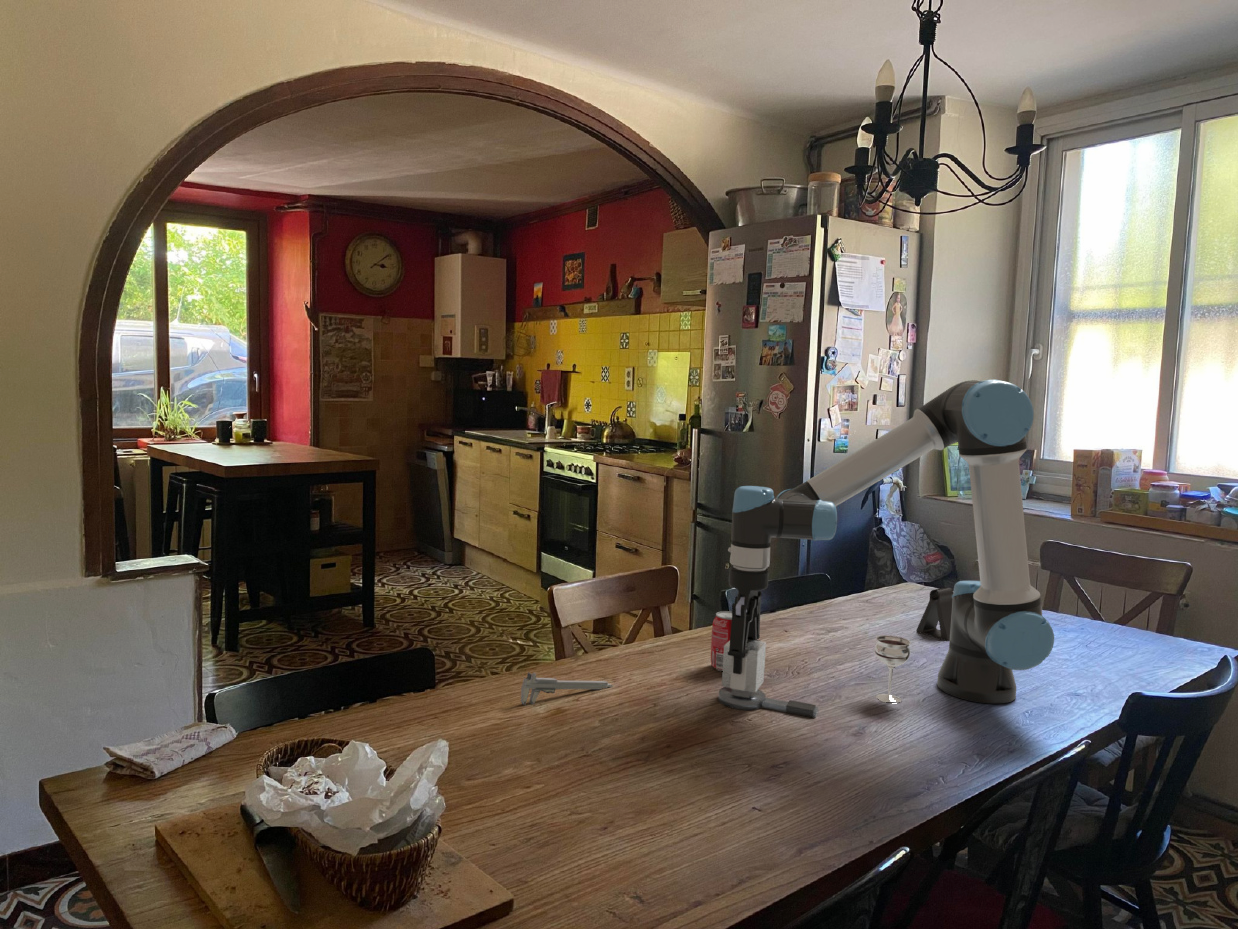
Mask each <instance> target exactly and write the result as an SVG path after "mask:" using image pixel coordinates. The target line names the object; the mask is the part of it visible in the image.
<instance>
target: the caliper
mask: <svg viewBox="0 0 1238 929" xmlns="http://www.w3.org/2000/svg"><path fill="white" fill-rule="evenodd" d="M522 680H523V681H522V685H521V688H520V703H521V704H522V705H524V706H527V705H526V704H527V700H528V697H529V701H528V702H529V704H531V705H535V702H536V701H537V698H538V696H540V695H539V694H540V693H541V692H544V693H546V694H555V693H556V692H555V691H556V690H600V689H601V690H603V689H602V688H605V689H608V688H613V685H612V684H610V683H609V682H608V681H606V680H558V679H557V678H553V677H537V673H535V672H532V673H530V672H527V675H526V677H524V678H523V679H522ZM530 690H531V692H530ZM529 693H530V696H529Z"/></svg>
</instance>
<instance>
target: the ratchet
mask: <svg viewBox="0 0 1238 929" xmlns="http://www.w3.org/2000/svg"><path fill="white" fill-rule="evenodd" d="M718 702H719V703H720V704H722V705H723V706H725V707H728V708H730V709H733V710H734V709H735V710H740V711H754V710H758V709H759V710H760V709H762V708H763V709H768V710H773V711H778V712H783V713H786V714H791V715H795V716H803V717H807V718H815V719H816V718H817V715H818V714H819V707H818V706H817V704H812V703H808V702H802V701H797V700H788V701H786V700H781V699H776V698H769V697H766V694H765V692H764V691H762V690H761V689H760V688H758V690H757V691H756V692H750V691H745V690H744V691H743V690H737V689H732V688H728V687H723V686H722V687H721V688H720V689H719V690H718Z"/></svg>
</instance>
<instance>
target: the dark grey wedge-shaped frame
mask: <svg viewBox="0 0 1238 929" xmlns="http://www.w3.org/2000/svg"><path fill="white" fill-rule="evenodd" d="M953 592H954V589H952V588H951V587H948V586H947V587H942V588H935V589H931V591H930V592H929V601H928V603H927V606H926V608H925V609H924V612H923V614H922V617H921V618H920V620H919V623H918V626H917V628H916V633H919V634H923V635H925V636H929V637H933V638H935V639H940V640H943V641H946V642H947V641H950V627H951V614H952V600H953V598H952V595H953ZM938 624H939V629H938V628H937V627H938Z"/></svg>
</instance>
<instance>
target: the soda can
mask: <svg viewBox="0 0 1238 929" xmlns="http://www.w3.org/2000/svg"><path fill="white" fill-rule="evenodd" d="M731 622H732V610H729V611H728V610H722V611H718V612H716V613H715V617H714V619H713V621H712V627H711V641H710V643H711V644H710V665H711V666H712V667H713V668H714V669H715V668H716V669H717V670H716V669H715V670H716V671H718V672H721V671H723V655H724V645H725V644H726V643H728V642H729V641H730V635H731Z"/></svg>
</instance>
